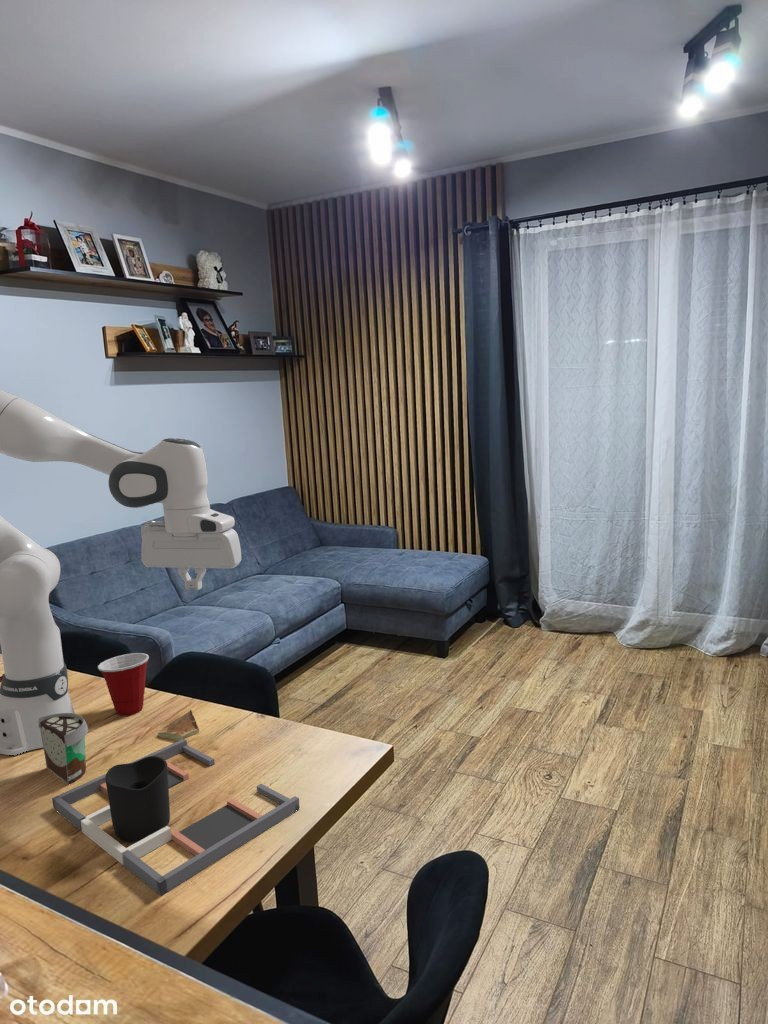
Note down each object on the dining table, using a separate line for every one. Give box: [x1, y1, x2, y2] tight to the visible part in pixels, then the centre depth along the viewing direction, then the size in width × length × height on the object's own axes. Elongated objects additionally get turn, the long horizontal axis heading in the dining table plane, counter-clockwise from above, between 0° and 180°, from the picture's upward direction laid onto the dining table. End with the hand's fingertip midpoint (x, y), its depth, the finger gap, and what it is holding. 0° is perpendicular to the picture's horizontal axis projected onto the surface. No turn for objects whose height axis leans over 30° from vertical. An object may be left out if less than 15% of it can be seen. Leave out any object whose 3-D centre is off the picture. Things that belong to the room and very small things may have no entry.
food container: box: [38, 713, 89, 786], centre depth 131 cm, size 12×6×10 cm, turn 48°
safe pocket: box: [81, 804, 173, 866], centre depth 111 cm, size 8×14×2 cm, turn 49°
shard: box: [157, 709, 200, 742], centre depth 147 cm, size 11×8×2 cm
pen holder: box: [105, 756, 171, 844], centre depth 112 cm, size 9×9×10 cm
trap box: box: [51, 738, 301, 896], centre depth 118 cm, size 26×34×2 cm
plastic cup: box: [97, 652, 150, 717], centre depth 156 cm, size 11×11×12 cm
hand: (193, 588), depth 139 cm, fingers closed
